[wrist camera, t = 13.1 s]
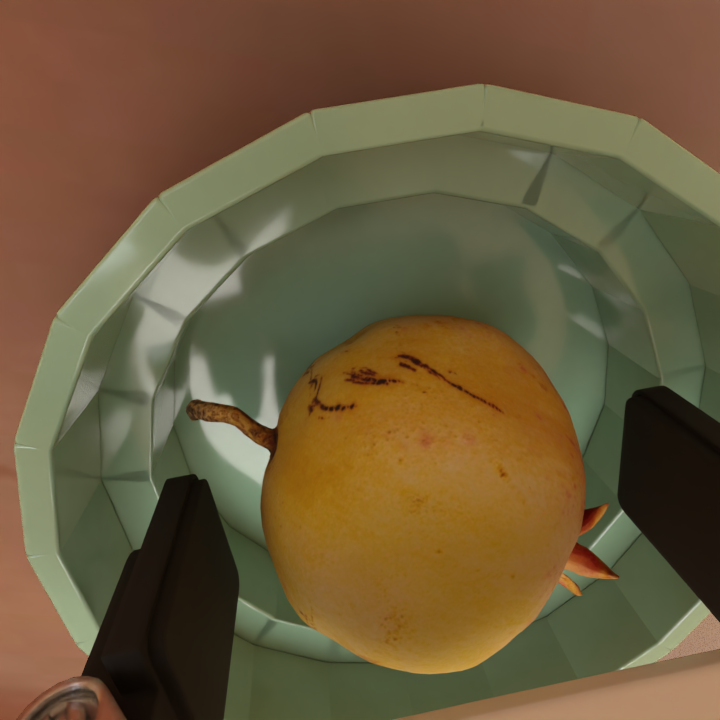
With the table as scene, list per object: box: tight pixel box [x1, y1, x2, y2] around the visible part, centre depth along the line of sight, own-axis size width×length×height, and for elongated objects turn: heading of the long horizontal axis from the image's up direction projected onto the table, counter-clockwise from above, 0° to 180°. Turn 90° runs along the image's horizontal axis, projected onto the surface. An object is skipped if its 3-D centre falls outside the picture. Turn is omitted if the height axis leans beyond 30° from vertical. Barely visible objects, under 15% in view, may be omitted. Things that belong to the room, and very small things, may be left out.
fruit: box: [186, 315, 619, 674], centre depth 11 cm, size 7×7×10 cm
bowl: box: [14, 83, 720, 720], centre depth 12 cm, size 15×15×5 cm
